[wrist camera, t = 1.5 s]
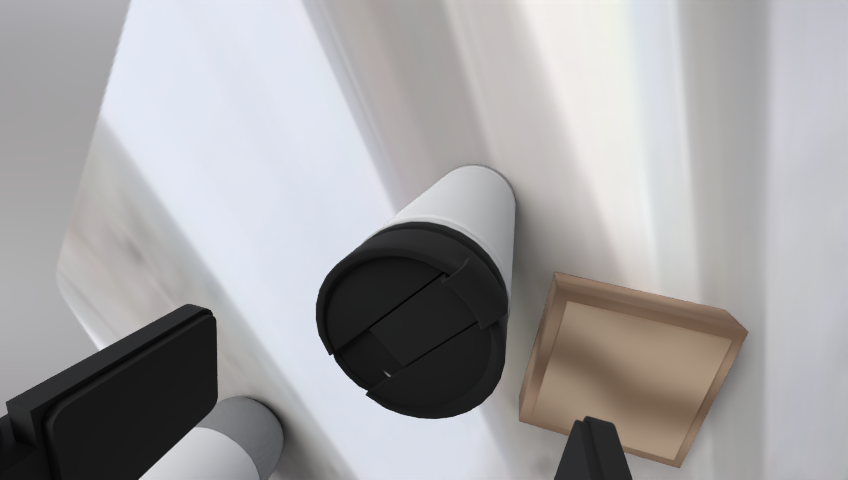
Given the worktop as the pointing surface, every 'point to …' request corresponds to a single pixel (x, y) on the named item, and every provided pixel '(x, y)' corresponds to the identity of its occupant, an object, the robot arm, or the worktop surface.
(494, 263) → the travel mug
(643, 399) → the plinth
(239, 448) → the smart speaker
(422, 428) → the worktop surface
